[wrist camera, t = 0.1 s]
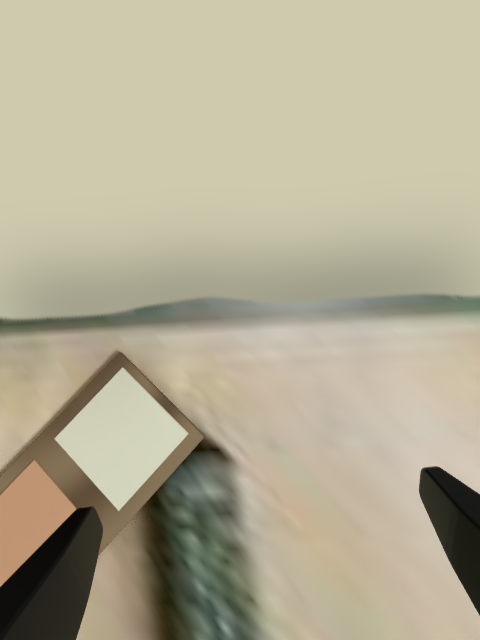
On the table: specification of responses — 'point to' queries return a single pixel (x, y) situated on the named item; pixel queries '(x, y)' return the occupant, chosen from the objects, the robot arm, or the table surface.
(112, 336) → the table surface
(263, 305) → the table surface
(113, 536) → the game board
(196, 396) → the table surface
